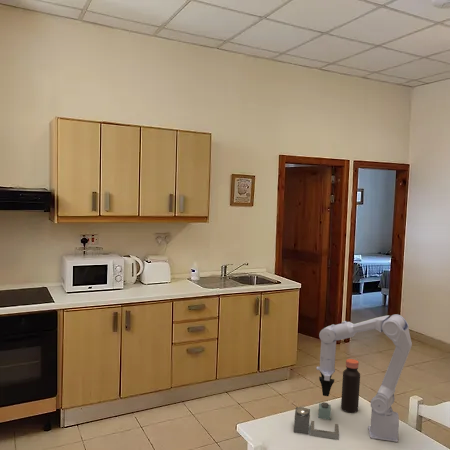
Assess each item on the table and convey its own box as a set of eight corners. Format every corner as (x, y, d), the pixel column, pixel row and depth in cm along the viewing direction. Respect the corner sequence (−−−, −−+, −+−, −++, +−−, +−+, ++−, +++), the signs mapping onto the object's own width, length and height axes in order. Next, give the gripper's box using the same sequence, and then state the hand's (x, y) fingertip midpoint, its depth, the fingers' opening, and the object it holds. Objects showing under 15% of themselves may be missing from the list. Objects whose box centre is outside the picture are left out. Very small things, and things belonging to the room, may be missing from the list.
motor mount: (338, 428, 166) (339, 410, 165) (338, 439, 158) (339, 420, 158) (295, 422, 169) (295, 404, 168) (293, 433, 161) (294, 414, 161)
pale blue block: (330, 414, 177) (330, 402, 176) (330, 420, 172) (331, 407, 172) (318, 412, 178) (319, 400, 177) (318, 418, 173) (319, 405, 173)
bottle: (349, 414, 177) (352, 365, 176) (337, 407, 183) (340, 359, 181) (361, 411, 180) (364, 362, 179) (349, 403, 186) (352, 357, 185)
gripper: (317, 350, 181) (315, 382, 182) (316, 362, 167) (314, 398, 168) (335, 352, 180) (333, 384, 181) (336, 365, 166) (334, 400, 166)
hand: (325, 391), depth 174 cm, fingers open, 7 cm apart
